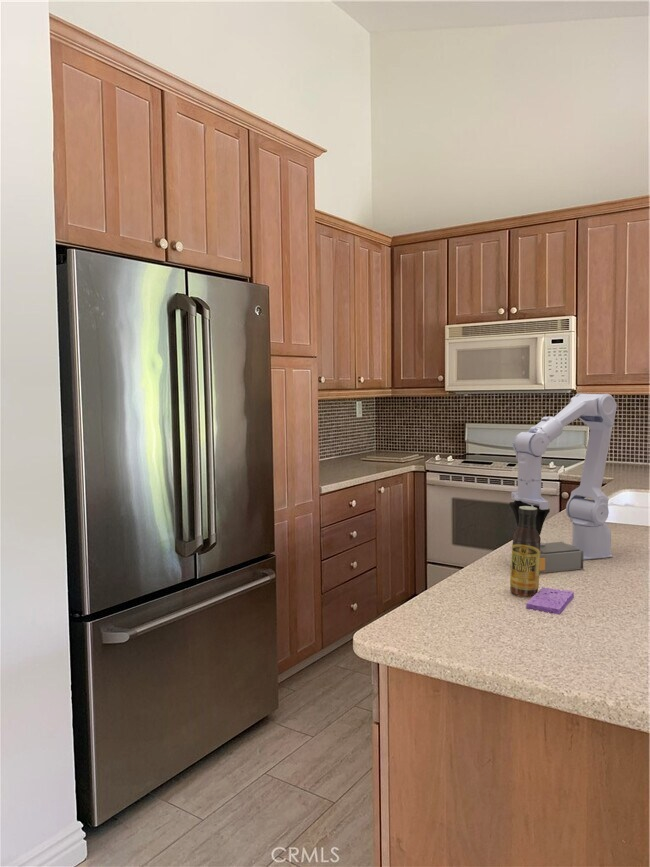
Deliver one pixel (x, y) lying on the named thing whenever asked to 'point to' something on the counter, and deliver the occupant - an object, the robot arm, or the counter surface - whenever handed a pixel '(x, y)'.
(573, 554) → the side door
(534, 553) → the sauce bottle
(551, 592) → the sponges
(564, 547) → the camera body
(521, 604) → the counter surface
